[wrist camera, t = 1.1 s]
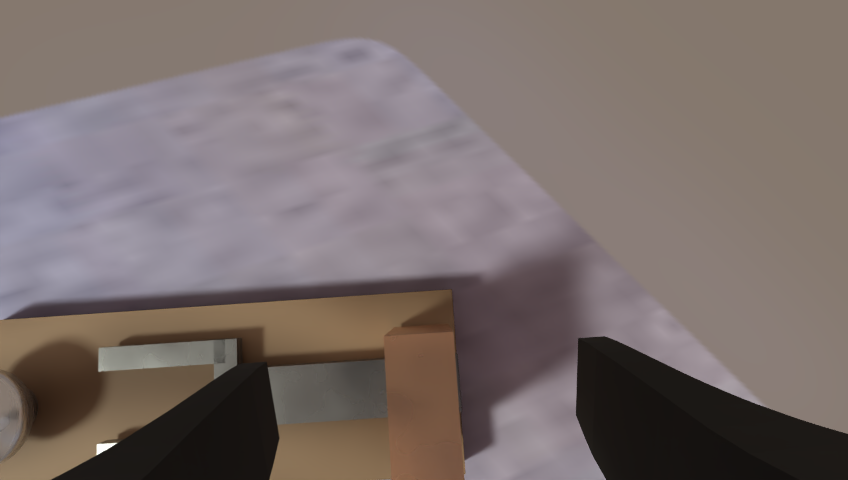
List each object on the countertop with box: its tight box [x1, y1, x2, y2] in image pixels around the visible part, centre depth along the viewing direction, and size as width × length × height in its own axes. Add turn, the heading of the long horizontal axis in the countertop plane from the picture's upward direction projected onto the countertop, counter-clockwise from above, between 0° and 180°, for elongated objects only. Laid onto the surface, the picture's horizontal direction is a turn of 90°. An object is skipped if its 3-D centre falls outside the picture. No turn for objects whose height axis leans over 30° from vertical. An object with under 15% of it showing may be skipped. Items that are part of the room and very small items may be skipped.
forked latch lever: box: [97, 323, 464, 480], centre depth 18 cm, size 5×16×5 cm, turn 94°
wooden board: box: [0, 289, 465, 480], centre depth 21 cm, size 8×22×2 cm, turn 94°
